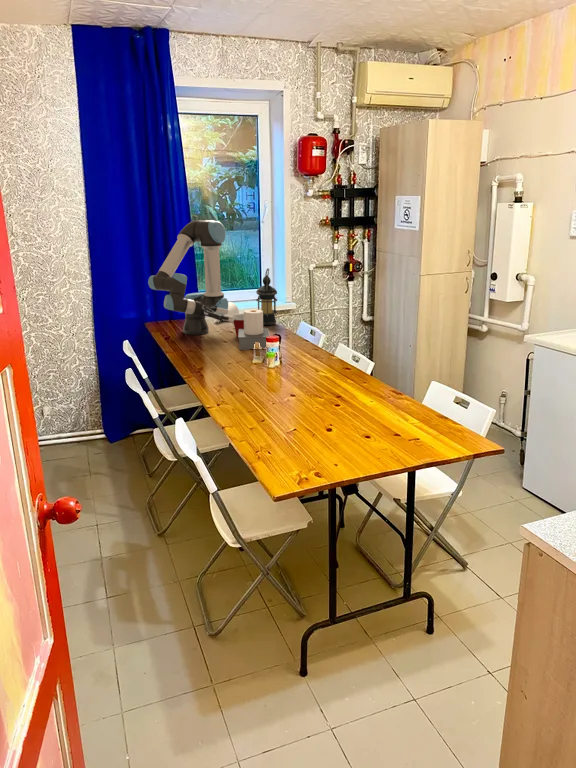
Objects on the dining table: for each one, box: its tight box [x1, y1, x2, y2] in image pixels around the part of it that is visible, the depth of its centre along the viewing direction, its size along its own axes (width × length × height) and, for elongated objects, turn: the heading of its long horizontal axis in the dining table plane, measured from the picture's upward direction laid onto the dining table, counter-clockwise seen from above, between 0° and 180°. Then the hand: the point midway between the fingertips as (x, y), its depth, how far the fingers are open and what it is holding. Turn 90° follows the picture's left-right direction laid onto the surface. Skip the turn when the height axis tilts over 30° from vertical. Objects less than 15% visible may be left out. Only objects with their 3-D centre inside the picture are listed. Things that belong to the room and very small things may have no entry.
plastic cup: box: [232, 313, 244, 338], centre depth 345 cm, size 11×11×12 cm
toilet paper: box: [243, 308, 264, 335], centre depth 324 cm, size 10×10×12 cm
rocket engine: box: [213, 301, 240, 324], centre depth 383 cm, size 12×12×18 cm
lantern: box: [255, 268, 278, 326], centre depth 370 cm, size 14×13×35 cm
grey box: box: [237, 328, 270, 351], centre depth 327 cm, size 19×17×7 cm
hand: (230, 315), depth 326 cm, fingers open, 13 cm apart
